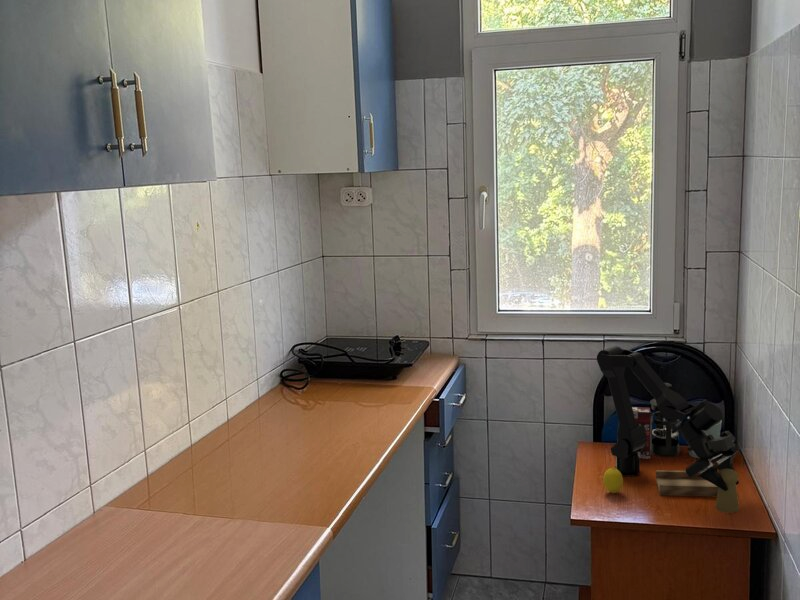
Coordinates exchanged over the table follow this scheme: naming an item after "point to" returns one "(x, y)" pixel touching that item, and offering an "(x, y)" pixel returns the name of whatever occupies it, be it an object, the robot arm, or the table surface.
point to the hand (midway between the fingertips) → (732, 487)
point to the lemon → (613, 480)
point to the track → (683, 484)
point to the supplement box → (644, 419)
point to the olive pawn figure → (728, 492)
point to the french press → (663, 434)
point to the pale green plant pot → (713, 431)
